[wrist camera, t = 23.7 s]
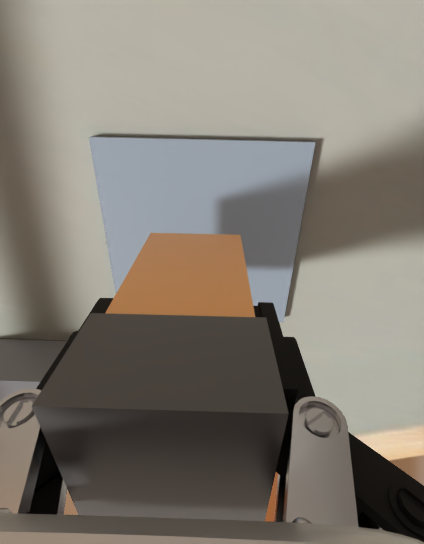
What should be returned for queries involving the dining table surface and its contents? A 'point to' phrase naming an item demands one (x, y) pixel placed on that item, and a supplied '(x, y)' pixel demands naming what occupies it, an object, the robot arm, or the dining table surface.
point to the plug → (170, 391)
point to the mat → (206, 200)
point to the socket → (25, 363)
